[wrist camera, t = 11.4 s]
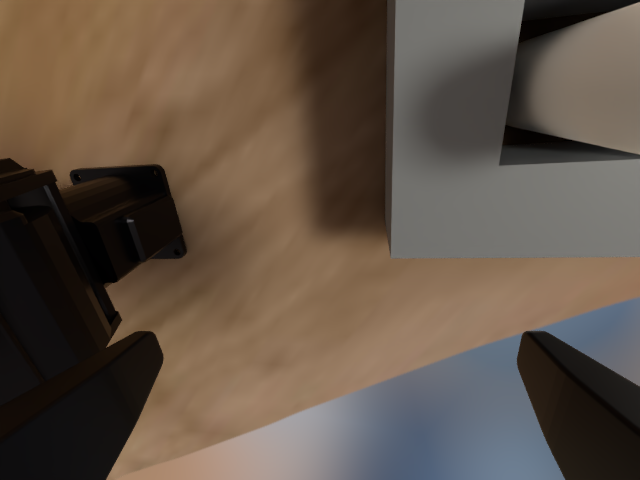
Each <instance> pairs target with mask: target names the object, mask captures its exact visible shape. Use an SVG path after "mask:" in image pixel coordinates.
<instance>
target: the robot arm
mask: <svg viewBox="0 0 640 480" xmlns="http://www.w3.org/2000/svg"><path fill="white" fill-rule="evenodd" d="M154 170H155V171H157V173H158V176H156V175H155V173H154ZM79 176H80V177H81V179H80V177H79ZM70 178H71V180H72V183H73V185H74V186H71V187H67V188H64V189H61V190H59V189H58V187H57V185H56V183H55V182H56V181H57V179H56V177H55V175H54V173H53V171H52V170H45V171H37V172H35V171H34V169H27V168H23V167H22V166H20V165H19V164H18V163H16V162H15V161H13V160H12V159H10V158H7V159H0V480H106V479H107V477H108V475H109V473H110V471H111V469H112V468H113V466H114V464H115V462H116V460H117V458H118V457H119V455H120V453H121V451H122V449H123V447H124V445H125V444H126V442H127V440H128V438H129V436H130V434H131V433H132V431H133V429H134V427H135V425H136V423H137V421H138V419H139V417H140V414H141V412H142V410H143V408H144V405H145V403H146V401H147V398H148V396H149V394H150V392H151V389H152V387H153V385H154V382H155V380H156V378H157V376H158V373H159V371H160V369H161V366H162V364H163V353H162V350H161V348H160V345H159V342H158V340H157V337H156V335H155V334H154V333H153V332H151V331H138V332H135V333H133V334H131V335H129V336H127V337H125V338H124V339H122V340H120V341H118V342H116V343H114V344H113V345H111V346H109V347H107V345H108V343H109V341H110V340H111V338H112V336H113V335H114V333H115V331H116V330H117V328H118V326H119V324H120V323H121V321H122V318H121V316H120V314H119V312H118V311H115V308H114V306H113V304H112V302H111V300H110V298H109V296H108V294H107V291H106V289H105V288H106V287H107V286H109V285H110V284H112V283H115V282H118V281H119V280H120V279H122V278H123V277H124V276H126V275H127V274H128V273H130V272H131V271H132V270H134V269H135V268H136V267H138V266H139V265H140V264H142V263H144V262H146V261H147V260H149V259H179V258H182V257H183V256H184V255H185V254H186V252H187V250H186V246H185V242H184V239H183V235H182V229H181V225H180V222H179V218H178V214H177V211H176V207H175V204H174V200H173V198H172V196H171V192H170V189H169V185H168V182H167V178H166V174H165V171H164V169H163V168H162V167H161V166H160V165H156V164H153V165H135V166H117V167H99V168H81V169H76V170H72V171H71V172H70ZM177 249H178V250H179V251H180V253H179V252H178V251H177ZM106 347H107V348H106ZM517 365H518V370H519V372H520V375H521V378H522V380H523V383H524V385H525V387H526V391H527V393H528V396H529V398H530V401H531V403H532V406H533V409H534V411H535V414H536V416H537V419H538V422H539V424H540V427H541V430H542V432H543V434H544V437H545V439H546V441H547V444H548V446H549V448H550V450H551V452H552V454H553V456H554V458H555V460H556V462H557V464H558V466H559V468H560V470H561V472H562V474H563V476H564V478H565V480H640V386H638V385H636V384H634V383H633V382H631V381H629V380H628V379H626V378H624V377H623V376H621V375H619V374H617V373H616V372H614V371H612V370H611V369H609V368H607V367H605V366H604V365H602V364H600V363H599V362H597V361H595V360H594V359H592V358H590V357H589V356H587V355H585V354H583V353H582V352H580V351H578V350H577V349H575V348H573V347H572V346H570V345H568V344H566V343H565V342H563V341H561V340H560V339H558V338H556V337H555V336H553V335H551V334H549V333H547V332H545V331H526V332H524V333H523V335H522V338H521V342H520V347H519V352H518V356H517Z"/></svg>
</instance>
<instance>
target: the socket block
mask: <svg viewBox="0 0 640 480" xmlns="http://www.w3.org/2000/svg"><path fill="white" fill-rule="evenodd" d="M639 2H640V0H387V65H386V166H385V224H386V231H387V237H388V244H389V250H390V256H391V258H543V257H640V155H639V154H634V153H630V152H625V151H621V150H616V149H612V148H607V147H603V146H598V145H593V144H589V143H584V142H580V141H569V142H551V143H533V144H515V145H502V142H503V136H504V129H505V123H506V117H507V110H508V104H509V98H510V91H511V85H512V79H513V72H514V66H515V59H516V53H517V47H518V40H519V34H520V28H521V21H526V20H535V19H544V18H553V17H562V16H571V15H580V14H589V13H598V12H607V11H610V12H612V11H615V10H618V9H621V8H624V7H627V6H630V5H633V4H636V3H639Z"/></svg>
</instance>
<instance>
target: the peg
mask: <svg viewBox="0 0 640 480" xmlns="http://www.w3.org/2000/svg"><path fill="white" fill-rule="evenodd" d="M505 125H508V126H511V127H516V128H520V129H525V130H529V131H534V132H539V133H543V134H548V135H552V136H557V137H561V138H566V139H571V140H575V141H580V142H584V143H589V144H593V145H598V146H603V147H607V148H612V149H616V150H621V151H625V152H630V153H634V154H639V155H640V2H639V3H636V4H633V5H630V6H627V7H624V8H621V9H618V10H615V11H612V12H609V13H606V14H603V15H600V16H597V17H594V18H591V19H588V20H585V21H582V22H579V23H576V24H573V25H570V26H567V27H564V28H561V29H558V30H555V31H552V32H549V33H546V34H543V35H540V36H537V37H534V38H531V39H528V40H525V41H523V42H521V43H519V44H518V47H517V53H516V59H515V66H514V72H513V79H512V85H511V91H510V98H509V104H508V110H507V117H506V123H505Z"/></svg>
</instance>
